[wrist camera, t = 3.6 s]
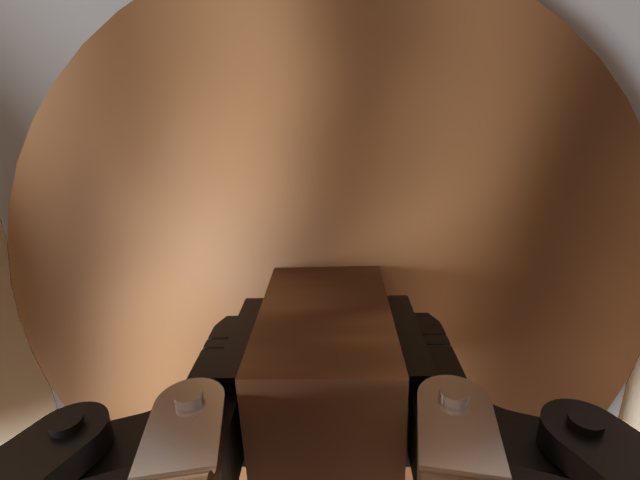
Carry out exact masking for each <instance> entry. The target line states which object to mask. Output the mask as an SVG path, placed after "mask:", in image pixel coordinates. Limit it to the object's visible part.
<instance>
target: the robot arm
mask: <svg viewBox="0 0 640 480" xmlns="http://www.w3.org/2000/svg"><path fill="white" fill-rule="evenodd" d="M387 298H388V302H389V305H390V309H391V313H392V316H393V320H394V324H395V328H396V331H397V335H398V339H399V342H400V346H401V350H402V354H403V357H404V361H405V365H406V369H407V372H408V376H409V392H408V418H407V444H406V467H411V471H412V476H413V480H640V432H639V431H637V430H636V429H634V428H633V427H631V426H630V425H628V424H627V423H625V422H624V421H622V420H620V419H619V418H617V417H616V416H614V415H613V414H611V413H610V412H608V411H606V410H605V409H602V408H600V407H598V406H596V405H593V404H591V403H588V402H584V401H580V400H576V399H555V400H552V401H549V402H547V403H546V404H545V405H544V406H543V407H542V409H541V413H540V417H537V416H533V415H528V414H523V413H519V412H514V411H510V410H506V409H503V408H501V407H498V406H496V405H494V404H492V401H491V398H490V396H489V395H488V393H487V392H486V391H485V390H484V389H483V388H482V387H481V386H479V385H478V384H476V383H475V382H473V381H471V380H469V379H467V377H466V375H465V373H464V371H463V369H462V367H461V365H460V362H459V360H458V358H457V356H456V354H455V352H454V350H453V348H452V346H451V343H450V341H449V339H448V337H447V336H446V333H445V331H444V329H443V327H442V325H441V322H439V321H438V320H437V319H436V318H434V317H433V316H432V315H430V314H429V313H414V311H413V308H412V306H411V303H410V300H409V298H408V296H407V295H390V296H387ZM262 301H263V298H246V299H245V301H244V303H243V306H242V308H241V310H240V313H239V315H238V316H226V317H225V318H224V319H222V320H221V321H220V322H218V323H217V324H216V325H215V326H214V327H213V329H212V331H211V333H210V335H209V337H208V340H207V341H206V343H205V344H204V346H203V349H202V350H201V352H200V354H199V356H198V358H197V360H196V362H195V363H194V365H193V367H192V369H191V371H190V373H189V375H188V377H187V379H186V380H183V381H180V382H177V383H175V384H173V385H171V386H170V387H168V388H166V389H165V390H164V391H163V392H162V393H161V394H160V395H159V396H158V397H157V398H156V400H155V402H154V404H153V407H152V409H151V410H150V411H147V412H144V413H140V414H136V415H132V416H128V417H124V418H119V419H115V420H111V419H110V415H109V411H108V409H107V408H106V406H105V405H103V404H101V403H98V402H92V401H88V402H78V403H74V404H70V405H67V406H64V407H62V408H59V409H57V410H55V411H53V412H51V413H50V414H48V415H46V416H45V417H43V418H42V419H40V420H39V421H37V422H36V423H34V424H33V425H31V426H30V427H28V428H27V429H25V430H24V431H22V432H21V433H19V434H18V435H16V436H15V437H13V438H12V439H10V440H9V441H7V442H6V443H4V444H3V445H1V446H0V480H239V477H240V473H241V469H242V467H246V465H245V457H244V449H243V441H242V433H241V425H240V417H239V409H238V401H237V393H236V385H235V378H236V375H237V372H238V370H239V367H240V364H241V361H242V358H243V355H244V353H245V350H246V347H247V344H248V341H249V338H250V335H251V333H252V330H253V327H254V324H255V321H256V318H257V316H258V313H259V310H260V307H261V304H262Z"/></svg>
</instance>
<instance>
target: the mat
mask: <svg viewBox="0 0 640 480" xmlns="http://www.w3.org/2000/svg"><path fill="white" fill-rule="evenodd" d="M132 1H133V0H0V219H1V223H2V226H3V229H4V233H5V236H6V239H7V238H8V217H9V201H10V196H11V191H12V186H13V181H14V176H15V171H16V166H17V161H18V159H19V156H20V153H21V150H22V148H23V145H24V142H25V139H26V137H27V134H28V131H29V128H30V125H31V123H32V120H33V119H34V117H35V115H36V113H37V111H38V109H39V108H40V106H41V104H42V102H43V100H44V98H45V97H46V95H47V93H48V91H49V89H50V88H51V86H52V84H53V82H54V81H55V79H56V78H57V77H58V75H59V74H60V73H61V72H62V70H63V69H64V68H65V66H66V65H67V64H68V63H69V61H70V60H71V59H72V57H73V56H74V55H75V53H76V52H77V51H78V50H79V48H80V47H81V46H82V44H83V43H84V42H86V41H87V40H88V39H89V38H90V37H91V36H92V35H93V34H94V33H95V32H96V31H97V30H98V29H99V28H100V27H101V26H102V25H104V24H105V23H106V22H107V21H108V20H109V19H110V18H111V17H112V16H113V15H114V14H115V13H116V12H117V11H118V10H120V9H121V8H123V7H124V6H126V5H127V4H129V3H130V2H132ZM537 1H539V2H540V3H541V4H542V5H544V6H545V7H546V8H548V9H549V10H550V11H552V12H553V13H554V14H556V15H557V16H558V17H560V18H561V19H562V20H564V21H565V22H566V23H567V24H568V25H569V26H570V27H571V28H572V29H573V30H574V31H575V32H576V33H577V35H578V36H579V37H580V38H581V39H582V40H583V41H584V42H585V43H586V44H587V45H588V46H589V47H590V48H591V49H592V50H593V51H594V52H595V53H596V54H597V56H598V57H599V58H600V59H601V60H602V62H603V63H604V65H605V66H606V67H607V69H608V70H609V72H610V73H611V75H612V76H613V78H614V79H615V81H616V82H617V84H618V85H619V86H620V88H621V89H622V91H623V92H624V94H625V95H626V97H627V98H628V100H629V102H630V104H631V107H632V109H633V111H634V113H635V115H636V117H637V119H638V121H639V124H640V0H537ZM626 383H627V381H626ZM626 383H625V384H624V386H623V387H622V389H621V390H620V392H619V393H618V395H617V396H616V398H615V399H614V401H613V402H612V404H611V405H610V407H609V408H608V410H607V411H608V412H610V413H611V414H613V415H614V416H616V417H617V418H618V416H619V412H620V408H621V404H622V400H623V396H624V391H625V387H626ZM51 389H52V387H51ZM52 393H53V396H54V399H55V403H56V406H57V409H59V408H62V407H64V405H63V403H62V402H61V400H60V399H59V397H58V396H57V395H56V393H55V392H54V390H53V389H52Z"/></svg>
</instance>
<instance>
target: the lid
mask: <svg viewBox="0 0 640 480" xmlns="http://www.w3.org/2000/svg"><path fill="white" fill-rule="evenodd" d="M7 246H8V256H9V267H10V277H11V284H12V289H13V293H14V297H15V301H16V305H17V310H18V314H19V318H20V321H21V324H22V326H23V329H24V331H25V334H26V337H27V339H28V342H29V345H30V347H31V350H32V352H33V354H34V356H35V358H36V360H37V362H38V364H39V366H40V368H41V369H42V371H43V373H44V375H45V377H46V379H47V381H48V383H49V384H50V386H51V387H52V389H53V390H54V392H55V393H56V395H57V396H58V397H59V399H60V400H61V402H62V403H63V405H64V406H67V405H70V404H74V403H78V402H88V401H92V402H98V403H101V404H103V405H105V406H106V408H107V409H108V411H109V415H110V419H111V420H115V419H119V418H124V417H128V416H132V415H136V414H140V413H144V412H147V411H150V410H151V409H152V407H153V404H154V402H155V400H156V398H157V397H158V396H159V395H160V394H161V393H162V392H163V391H164V390H165V389H166V388H168V387H170V386H171V385H173V384H175V383H177V382H180V381H183V380H186V379H187V377H188V375H189V373H190V371H191V369H192V367H193V365H194V363H195V362H196V360H197V358H198V356H199V354H200V352H201V350H202V349H203V346H204V344H205V343H206V341H207V340H208V337H209V335H210V333H211V331H212V329H213V327H214V326H215V325H216V324H217V323H218V322H220V321H221V320H222V319H224V318H225V317H226V316H238V315H239V313H240V310H241V308H242V306H243V303H244V301H245V299H246V298H263V301H262V304H261V307H260V310H259V313H258V316H257V318H256V321H255V324H254V327H253V330H252V333H251V335H250V338H249V341H248V344H247V347H246V350H245V353H244V355H243V358H242V361H241V364H240V367H239V370H238V372H237V375H236V378H235V385H236V393H237V401H238V409H239V417H240V425H241V433H242V441H243V449H244V457H245V465H246V467H242V469H241V473H240V477H239V480H413V476H412V471H411V467H406V444H407V418H408V392H409V376H408V372H407V369H406V365H405V361H404V357H403V354H402V350H401V346H400V342H399V339H398V335H397V331H396V328H395V324H394V320H393V316H392V313H391V309H390V305H389V302H388V298H387V296H390V295H407V296H408V298H409V300H410V303H411V306H412V308H413V311H414V313H429V314H430V315H432V316H433V317H434V318H436V319H437V320H438V321H439V322H441V325H442V327H443V329H444V331H445V333H446V336H447V337H448V339H449V341H450V343H451V346H452V348H453V350H454V352H455V354H456V356H457V358H458V360H459V362H460V365H461V367H462V369H463V371H464V373H465V375H466V377H467V379H469V380H471V381H473V382H475V383H476V384H478V385H479V386H481V387H482V388H483V389H484V390H485V391H486V392H487V393H488V395H489V396H490V398H491V401H492V404H494V405H496V406H498V407H501V408H503V409H506V410H510V411H514V412H519V413H523V414H528V415H533V416H537V417H540V413H541V409H542V407H543V406H544V405H545V404H546V403H547V402H549V401H552V400H555V399H576V400H580V401H584V402H588V403H591V404H593V405H596V406H598V407H600V408H602V409H605V410H606V411H607V410H608V408H609V407H610V405H611V404H612V402H613V401H614V399H615V398H616V396H617V395H618V393H619V392H620V390H621V389H622V387H623V386H624V384H625V383H626V381H627V380H628V378H629V376H630V374H631V372H632V370H633V368H634V366H635V363H636V361H637V359H638V357H639V355H640V124H639V121H638V119H637V117H636V115H635V113H634V111H633V109H632V107H631V104H630V102H629V100H628V98H627V97H626V95H625V94H624V92H623V91H622V89H621V88H620V86H619V85H618V84H617V82H616V81H615V79H614V78H613V76H612V75H611V73H610V72H609V70H608V69H607V67H606V66H605V65H604V63H603V62H602V60H601V59H600V58H599V57H598V56H597V54H596V53H595V52H594V51H593V50H592V49H591V48H590V47H589V46H588V45H587V44H586V43H585V42H584V41H583V40H582V39H581V38H580V37H579V36H578V35H577V33H576V32H575V31H574V30H573V29H572V28H571V27H570V26H569V25H568V24H567V23H566V22H565V21H564V20H562V19H561V18H560V17H558V16H557V15H556V14H554V13H553V12H552V11H550V10H549V9H548V8H546V7H545V6H544V5H542V4H541V3H540V2H539V1H537V0H133V1H132V2H130V3H129V4H127V5H126V6H124V7H123V8H121V9H120V10H118V11H117V12H116V13H115V14H114V15H113V16H112V17H111V18H110V19H109V20H108V21H107V22H106V23H105V24H104V25H102V26H101V27H100V28H99V29H98V30H97V31H96V32H95V33H94V34H93V35H92V36H91V37H90V38H89V39H88V40H87V41H86V42H84V43H83V44H82V46H81V47H80V48H79V50H78V51H77V52H76V53H75V55H74V56H73V57H72V59H71V60H70V61H69V63H68V64H67V65H66V66H65V68H64V69H63V70H62V72H61V73H60V74H59V75H58V77H57V78H56V79H55V81H54V82H53V84H52V86H51V88H50V89H49V91H48V93H47V95H46V97H45V98H44V100H43V102H42V104H41V106H40V108H39V109H38V111H37V113H36V115H35V117H34V119H33V120H32V123H31V125H30V128H29V131H28V134H27V137H26V139H25V142H24V145H23V148H22V150H21V153H20V156H19V159H18V161H17V166H16V171H15V176H14V181H13V186H12V191H11V196H10V201H9V217H8V238H7Z"/></svg>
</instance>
